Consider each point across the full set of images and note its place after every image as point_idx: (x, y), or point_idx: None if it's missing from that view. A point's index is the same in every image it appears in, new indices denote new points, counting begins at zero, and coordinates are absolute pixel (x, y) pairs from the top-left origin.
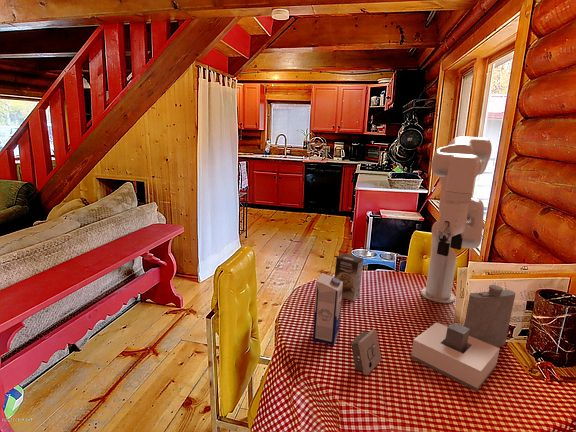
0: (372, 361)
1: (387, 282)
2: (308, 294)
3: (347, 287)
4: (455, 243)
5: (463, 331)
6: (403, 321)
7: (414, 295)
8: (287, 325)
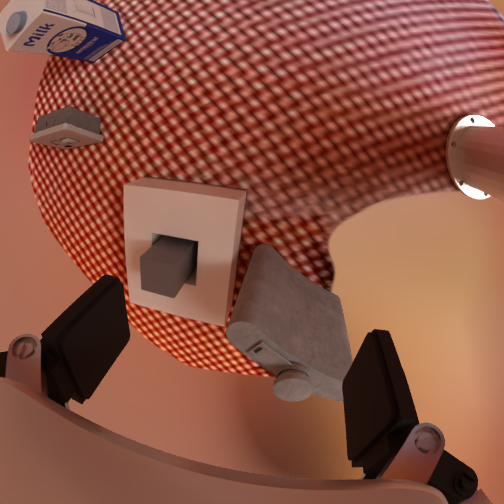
0: (72, 144)
1: (464, 29)
2: None
3: None
4: (360, 392)
5: (151, 288)
6: (281, 103)
7: (448, 98)
8: None
